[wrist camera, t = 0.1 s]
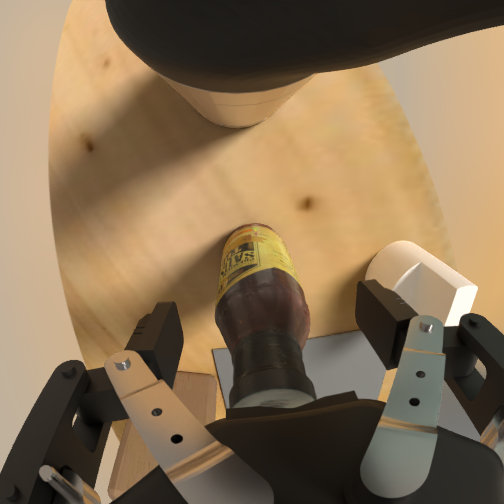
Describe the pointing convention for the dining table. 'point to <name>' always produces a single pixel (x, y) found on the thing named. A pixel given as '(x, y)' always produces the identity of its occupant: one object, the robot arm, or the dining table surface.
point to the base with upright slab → (423, 282)
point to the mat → (327, 366)
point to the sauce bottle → (263, 320)
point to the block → (134, 448)
